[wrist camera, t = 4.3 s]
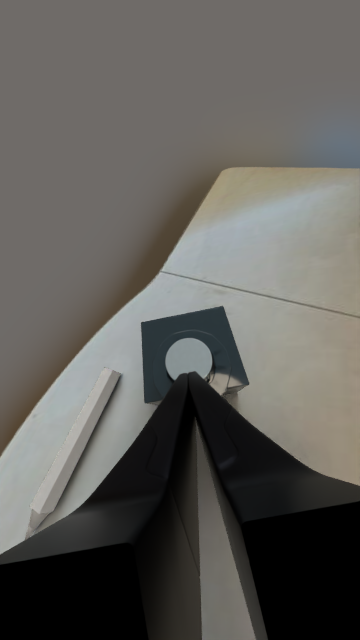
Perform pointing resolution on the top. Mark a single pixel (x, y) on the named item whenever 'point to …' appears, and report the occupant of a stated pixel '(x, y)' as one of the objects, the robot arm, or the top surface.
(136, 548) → the robot arm
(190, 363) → the pale grey disc
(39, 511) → the pale grey rod
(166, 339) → the push button box
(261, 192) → the top surface
